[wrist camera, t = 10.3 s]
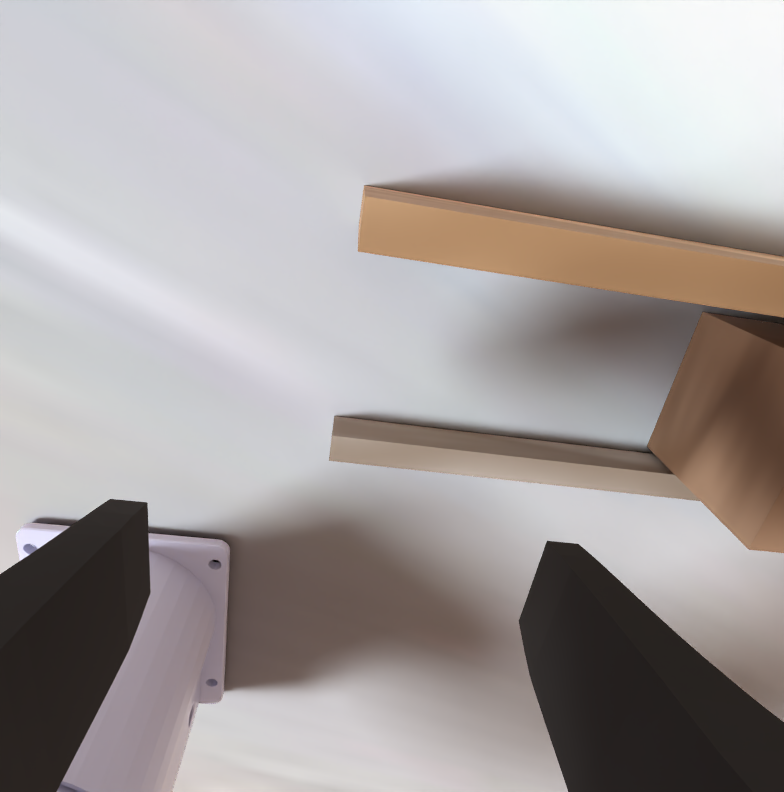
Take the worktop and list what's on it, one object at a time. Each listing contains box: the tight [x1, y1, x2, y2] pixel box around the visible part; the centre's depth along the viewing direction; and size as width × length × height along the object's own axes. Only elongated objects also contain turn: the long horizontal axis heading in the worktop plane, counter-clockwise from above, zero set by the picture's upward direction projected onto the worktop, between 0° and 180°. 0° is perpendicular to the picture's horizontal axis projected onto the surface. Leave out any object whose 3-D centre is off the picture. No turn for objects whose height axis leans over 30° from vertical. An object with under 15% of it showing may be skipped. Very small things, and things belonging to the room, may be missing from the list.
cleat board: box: [329, 185, 784, 501], centre depth 17 cm, size 9×19×5 cm, turn 81°
